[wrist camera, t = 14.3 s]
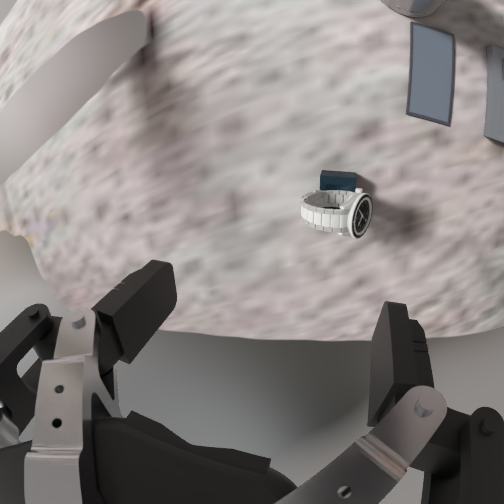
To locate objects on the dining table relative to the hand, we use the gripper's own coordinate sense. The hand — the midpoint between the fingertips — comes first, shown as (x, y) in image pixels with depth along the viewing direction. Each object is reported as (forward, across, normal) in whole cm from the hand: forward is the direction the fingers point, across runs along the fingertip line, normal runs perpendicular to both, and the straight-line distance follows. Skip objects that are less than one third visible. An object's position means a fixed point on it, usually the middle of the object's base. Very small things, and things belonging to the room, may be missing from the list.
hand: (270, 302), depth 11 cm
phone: (+31, -13, -14) cm, 36 cm away
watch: (+30, -2, +4) cm, 31 cm away
